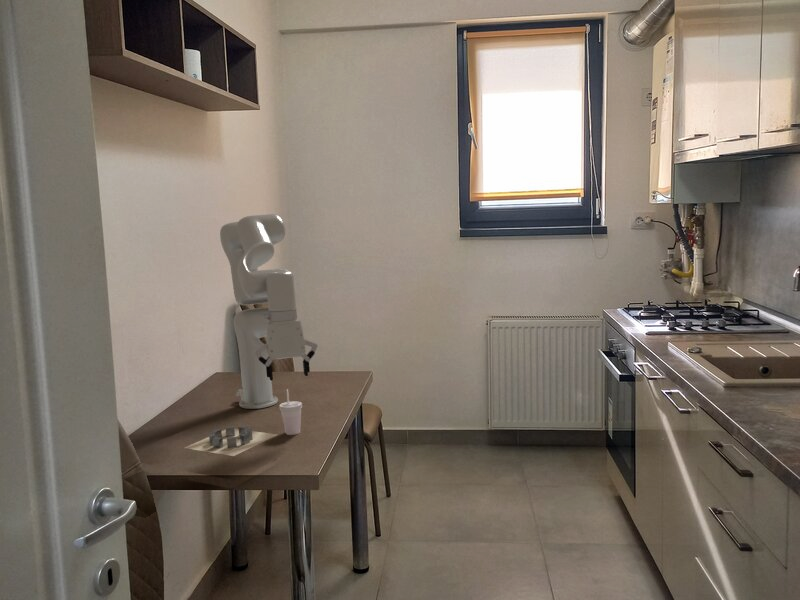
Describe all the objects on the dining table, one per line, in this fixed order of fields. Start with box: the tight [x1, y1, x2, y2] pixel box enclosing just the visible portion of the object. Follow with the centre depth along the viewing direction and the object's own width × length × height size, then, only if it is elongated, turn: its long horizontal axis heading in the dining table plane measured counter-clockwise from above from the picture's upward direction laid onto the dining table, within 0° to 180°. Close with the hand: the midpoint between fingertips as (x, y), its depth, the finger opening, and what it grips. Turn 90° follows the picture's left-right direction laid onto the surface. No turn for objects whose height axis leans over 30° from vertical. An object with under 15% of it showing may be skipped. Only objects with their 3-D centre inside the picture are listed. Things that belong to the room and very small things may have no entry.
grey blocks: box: [208, 425, 253, 448], centre depth 205 cm, size 11×11×2 cm
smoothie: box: [278, 388, 303, 436], centre depth 208 cm, size 6×6×14 cm
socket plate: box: [184, 428, 278, 457], centre depth 205 cm, size 18×18×2 cm
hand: (288, 377), depth 207 cm, fingers open, 9 cm apart
